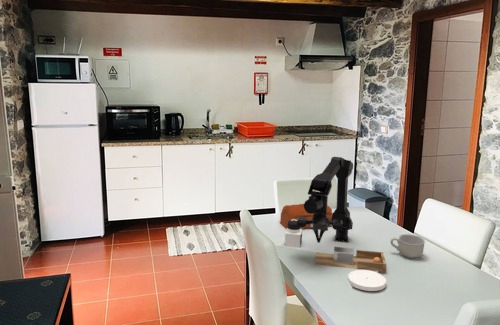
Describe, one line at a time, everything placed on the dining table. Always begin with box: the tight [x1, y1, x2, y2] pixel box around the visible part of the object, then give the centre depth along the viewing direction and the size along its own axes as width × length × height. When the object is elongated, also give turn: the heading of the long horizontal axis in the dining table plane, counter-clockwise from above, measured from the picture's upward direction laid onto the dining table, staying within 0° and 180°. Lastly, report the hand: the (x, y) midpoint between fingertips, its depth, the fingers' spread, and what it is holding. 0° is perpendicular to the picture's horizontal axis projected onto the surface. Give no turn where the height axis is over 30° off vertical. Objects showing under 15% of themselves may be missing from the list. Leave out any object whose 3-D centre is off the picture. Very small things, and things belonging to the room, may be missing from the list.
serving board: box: [314, 249, 387, 275], centre depth 174 cm, size 12×28×4 cm, turn 78°
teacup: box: [390, 233, 426, 259], centre depth 183 cm, size 14×11×8 cm
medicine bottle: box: [284, 220, 303, 248], centre depth 191 cm, size 7×7×12 cm
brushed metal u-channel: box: [333, 246, 355, 264], centre depth 174 cm, size 5×5×8 cm
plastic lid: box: [347, 269, 387, 292], centre depth 158 cm, size 14×14×2 cm
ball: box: [373, 257, 381, 263], centre depth 172 cm, size 3×3×3 cm
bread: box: [280, 203, 333, 230], centre depth 220 cm, size 16×27×11 cm, turn 107°
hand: (318, 242), depth 176 cm, fingers closed
